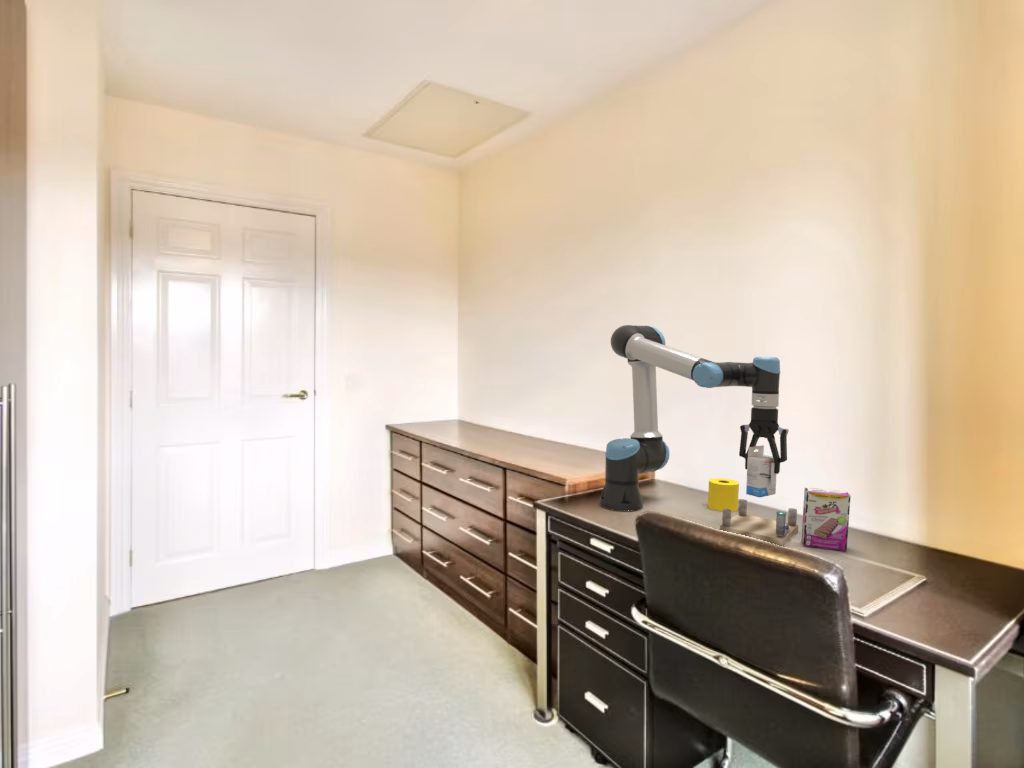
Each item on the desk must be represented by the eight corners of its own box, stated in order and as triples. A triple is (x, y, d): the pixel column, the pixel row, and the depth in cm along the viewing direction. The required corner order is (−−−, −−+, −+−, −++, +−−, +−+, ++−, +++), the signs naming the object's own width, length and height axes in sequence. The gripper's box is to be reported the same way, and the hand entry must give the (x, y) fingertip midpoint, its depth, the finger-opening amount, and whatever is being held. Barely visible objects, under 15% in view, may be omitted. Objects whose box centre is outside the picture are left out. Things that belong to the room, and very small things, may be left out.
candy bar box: (803, 547, 160) (806, 490, 159) (800, 541, 165) (803, 486, 164) (848, 552, 156) (851, 494, 155) (843, 546, 161) (847, 490, 160)
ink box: (760, 498, 168) (762, 449, 167) (745, 494, 172) (747, 447, 171) (776, 494, 172) (778, 447, 171) (761, 490, 176) (763, 444, 176)
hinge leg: (781, 527, 169) (782, 505, 169) (790, 529, 168) (791, 506, 167) (774, 535, 162) (775, 512, 161) (783, 537, 160) (785, 514, 160)
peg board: (719, 532, 172) (720, 509, 171) (739, 519, 186) (739, 498, 185) (782, 546, 160) (783, 522, 160) (798, 531, 174) (799, 509, 174)
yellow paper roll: (738, 513, 193) (739, 486, 192) (708, 510, 196) (709, 483, 195) (736, 505, 202) (737, 479, 202) (707, 502, 205) (708, 477, 205)
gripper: (729, 405, 174) (726, 479, 175) (795, 410, 161) (791, 489, 163) (737, 404, 179) (734, 475, 181) (801, 408, 167) (798, 484, 169)
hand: (761, 481), depth 172 cm, fingers closed on ink box, 6 cm apart
